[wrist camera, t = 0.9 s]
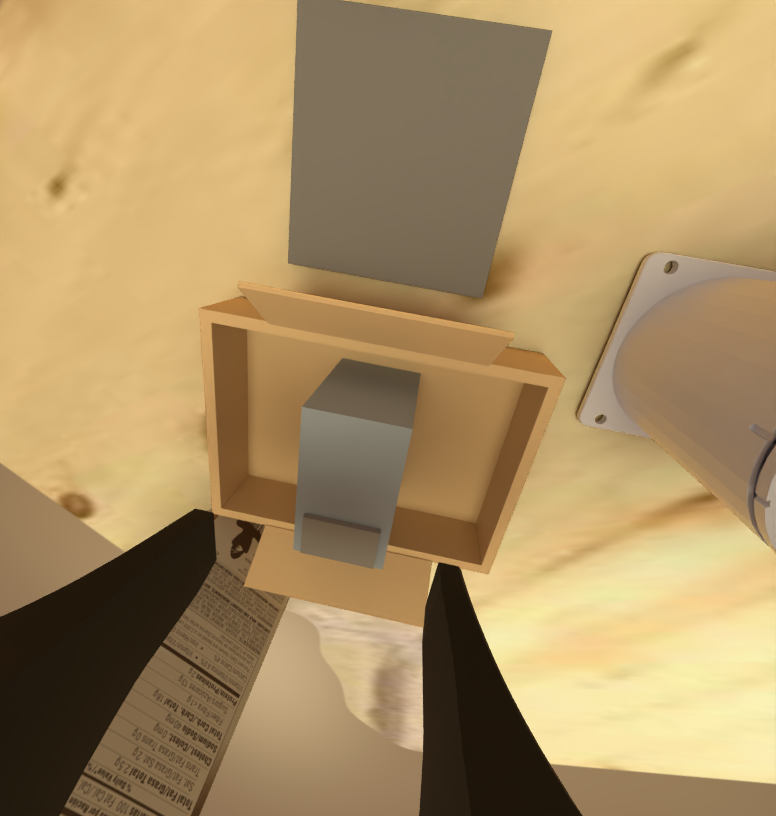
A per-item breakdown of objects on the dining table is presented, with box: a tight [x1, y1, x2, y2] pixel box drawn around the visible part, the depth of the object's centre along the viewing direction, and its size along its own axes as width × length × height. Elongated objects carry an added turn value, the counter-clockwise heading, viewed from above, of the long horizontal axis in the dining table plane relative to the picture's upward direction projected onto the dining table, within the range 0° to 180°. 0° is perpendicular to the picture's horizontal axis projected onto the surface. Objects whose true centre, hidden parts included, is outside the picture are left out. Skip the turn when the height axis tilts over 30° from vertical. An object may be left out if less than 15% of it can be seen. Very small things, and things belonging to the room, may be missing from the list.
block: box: [293, 358, 421, 570], centre depth 17 cm, size 4×7×6 cm, turn 171°
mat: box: [288, 0, 552, 298], centre depth 15 cm, size 9×9×1 cm
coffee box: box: [60, 509, 290, 816], centre depth 18 cm, size 9×6×16 cm
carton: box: [199, 282, 566, 627], centre depth 17 cm, size 15×15×6 cm
